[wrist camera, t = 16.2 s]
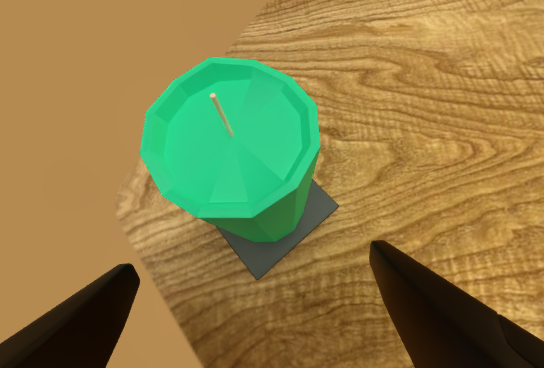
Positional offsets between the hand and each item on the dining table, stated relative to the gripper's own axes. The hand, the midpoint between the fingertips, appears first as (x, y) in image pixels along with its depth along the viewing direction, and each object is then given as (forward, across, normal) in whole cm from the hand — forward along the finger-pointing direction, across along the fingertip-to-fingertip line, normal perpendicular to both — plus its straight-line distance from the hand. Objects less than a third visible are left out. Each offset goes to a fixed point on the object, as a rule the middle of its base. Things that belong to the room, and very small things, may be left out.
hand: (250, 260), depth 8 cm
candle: (+9, 0, +3) cm, 9 cm away
